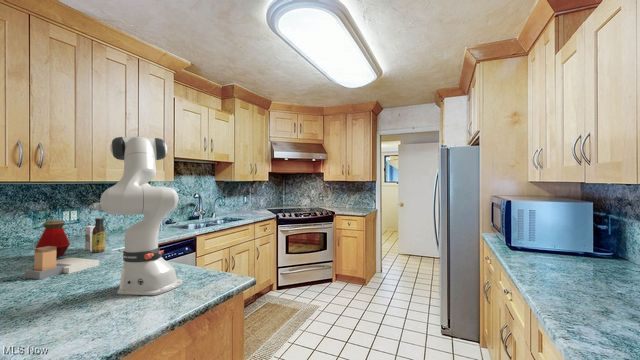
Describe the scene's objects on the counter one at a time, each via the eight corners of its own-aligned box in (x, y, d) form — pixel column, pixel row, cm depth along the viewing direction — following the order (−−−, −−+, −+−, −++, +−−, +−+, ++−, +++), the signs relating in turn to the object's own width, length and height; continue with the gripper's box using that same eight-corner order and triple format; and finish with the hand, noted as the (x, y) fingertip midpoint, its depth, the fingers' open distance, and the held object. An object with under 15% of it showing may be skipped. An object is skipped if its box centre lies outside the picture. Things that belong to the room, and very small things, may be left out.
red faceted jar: (28, 258, 148) (29, 221, 148) (60, 252, 161) (60, 218, 161) (44, 261, 142) (45, 222, 142) (76, 254, 155) (76, 219, 155)
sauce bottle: (97, 253, 157) (97, 218, 158) (88, 253, 159) (88, 218, 159) (108, 250, 164) (108, 217, 164) (99, 250, 165) (99, 217, 165)
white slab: (99, 265, 135) (99, 259, 135) (45, 280, 114) (45, 272, 114) (69, 262, 140) (69, 256, 140) (13, 275, 119) (13, 269, 119)
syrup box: (101, 248, 169) (101, 225, 169) (89, 250, 164) (90, 226, 164) (95, 247, 172) (96, 224, 172) (84, 249, 166) (84, 226, 166)
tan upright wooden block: (56, 273, 122) (56, 246, 122) (42, 277, 117) (42, 249, 117) (48, 272, 123) (48, 246, 124) (34, 276, 119) (34, 248, 119)
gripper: (109, 199, 152) (82, 200, 139) (138, 199, 147) (113, 201, 134) (109, 210, 152) (81, 213, 139) (138, 211, 147) (113, 214, 134)
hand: (97, 207), depth 136 cm, fingers open, 8 cm apart
